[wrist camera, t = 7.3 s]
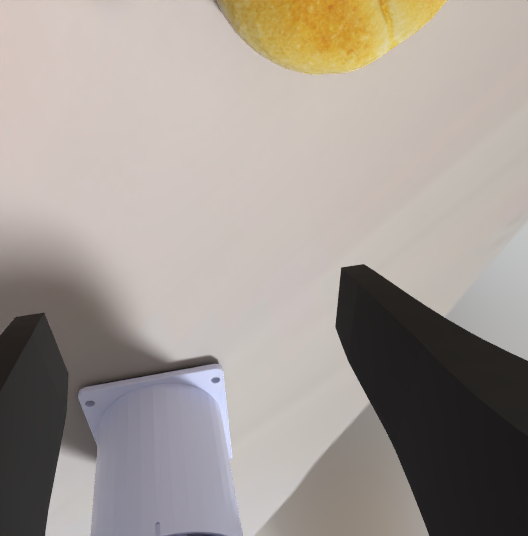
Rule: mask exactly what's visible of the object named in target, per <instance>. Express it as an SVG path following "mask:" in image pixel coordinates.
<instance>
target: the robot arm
mask: <svg viewBox="0 0 528 536" xmlns="http://www.w3.org/2000/svg"><path fill="white" fill-rule="evenodd" d="M336 330H337V332H338V335H339V338H340V341H341V343H342V346H343V349H344V351H345V354H346V356H347V359H348V361H349V363H350V365H351V367H352V369H353V371H354V373H355V375H356V376H357V378H358V380H359V382H360V384H361V386H362V388H363V390H364V391H365V393H366V395H367V397H368V399H369V401H370V402H371V404H372V406H373V408H374V410H375V412H376V413H377V415H378V417H379V419H380V421H381V423H382V424H383V426H384V428H385V430H386V432H387V434H388V436H389V438H390V440H391V442H392V444H393V446H394V448H395V450H396V453H397V455H398V458H399V460H400V463H401V465H402V467H403V470H404V472H405V475H406V477H407V479H408V482H409V484H410V487H411V489H412V492H413V494H414V497H415V500H416V502H417V505H418V507H419V510H420V512H421V515H422V517H423V520H424V522H425V525H426V528H427V531H428V533H429V536H528V361H527V360H524V359H522V358H520V357H518V356H516V355H513V354H511V353H509V352H507V351H505V350H503V349H501V348H499V347H497V346H495V345H493V344H491V343H489V342H487V341H485V340H483V339H481V338H479V337H477V336H476V335H474V334H472V333H470V332H468V331H467V330H465V329H463V328H462V327H460V326H458V325H456V324H455V323H453V322H451V321H449V320H448V319H446V318H444V317H443V316H441V315H440V314H438V313H436V312H435V311H433V310H432V309H430V308H428V307H427V306H425V305H424V304H422V303H421V302H419V301H418V300H416V299H415V298H413V297H412V296H410V295H409V294H407V293H406V292H404V291H403V290H401V289H400V288H398V287H397V286H395V285H394V284H393V283H391V282H390V281H388V280H387V279H385V278H384V277H382V276H381V275H379V274H378V273H377V272H375V271H374V270H372V269H371V268H369V267H367V266H366V265H364V264H362V265H356V266H349V267H342V268H341V277H340V287H339V297H338V307H337V317H336ZM214 377H217V378H214ZM67 393H68V372H67V369H66V367H65V364H64V362H63V359H62V357H61V354H60V352H59V349H58V347H57V344H56V342H55V339H54V336H53V334H52V331H51V329H50V326H49V324H48V321H47V319H46V316H45V314H44V313H40V314H33V315H27V316H20V317H16V318H15V319H14V320H13V321H12V322H11V323H10V325H9V326H8V327H7V328H6V329H5V331H4V332H3V333H2V334H1V336H0V536H45V530H46V523H47V516H48V509H49V503H50V498H51V493H52V487H53V482H54V477H55V472H56V466H57V461H58V456H59V451H60V446H61V440H62V435H63V429H64V424H65V418H66V410H67ZM78 399H79V402H80V404H81V407H82V409H83V412H84V414H85V417H86V419H87V422H88V424H89V427H90V430H91V432H92V435H93V437H94V440H95V442H96V445H97V460H96V472H95V485H94V498H93V511H92V524H91V536H243V531H242V526H241V520H240V515H239V509H238V503H237V498H236V492H235V487H234V481H233V476H232V470H231V464H230V460H231V458H232V450H231V441H230V431H229V421H228V412H227V402H226V392H225V383H224V373H223V368H222V366H221V365H219V364H210V365H205V366H199V367H194V368H188V369H183V370H177V371H172V372H166V373H160V374H155V375H149V376H144V377H138V378H133V379H127V380H122V381H116V382H111V383H105V384H100V385H94V386H89V387H84V388H82V389H81V390H80V391H79V394H78Z"/></svg>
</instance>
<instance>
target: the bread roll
mask: <svg viewBox="0 0 528 536" xmlns="http://www.w3.org/2000/svg"><path fill="white" fill-rule="evenodd" d="M216 1H217V3H218V6H219V9H220V10H221V12H222V13H223V15H224V16H225V18H226V19H227V21H228V23H229V24H230V25H231V27H232V28H233V29H234V31H235V32H236V33H237V34H238V35H239V36H240V37H241V38H242V39H243V40H244V41H245V42H246V43H247V44H248V45H249V46H250V47H251V48H253V49H254V50H255V51H256V52H258V53H259V54H260V55H262V56H263V57H265V58H267V59H268V60H270V61H272V62H273V63H275V64H277V65H279V66H282V67H284V68H286V69H289V70H293V71H297V72H302V73H307V74H314V75H319V74H334V73H348V72H351V71H354V70H357V69H360V68H363V67H365V66H367V65H369V64H370V63H372V62H373V61H375V60H377V59H378V58H380V57H381V56H383V55H384V54H386V53H387V52H388V51H389V50H391V49H392V48H393V47H395V46H397V45H398V44H400V43H401V42H403V41H404V40H406V39H407V38H409V37H410V36H411V35H413V34H414V33H416V32H417V31H418V30H419V29H421V28H422V27H423V26H424V25H425V24H426V23H427V22H429V21H430V20H431V19H432V18H433V17H434V16H435V15H436V13H437V12H438V11H439V10H440V9H441V7H442V6H443V5H444V4H445V2H446V1H447V0H216Z"/></svg>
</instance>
